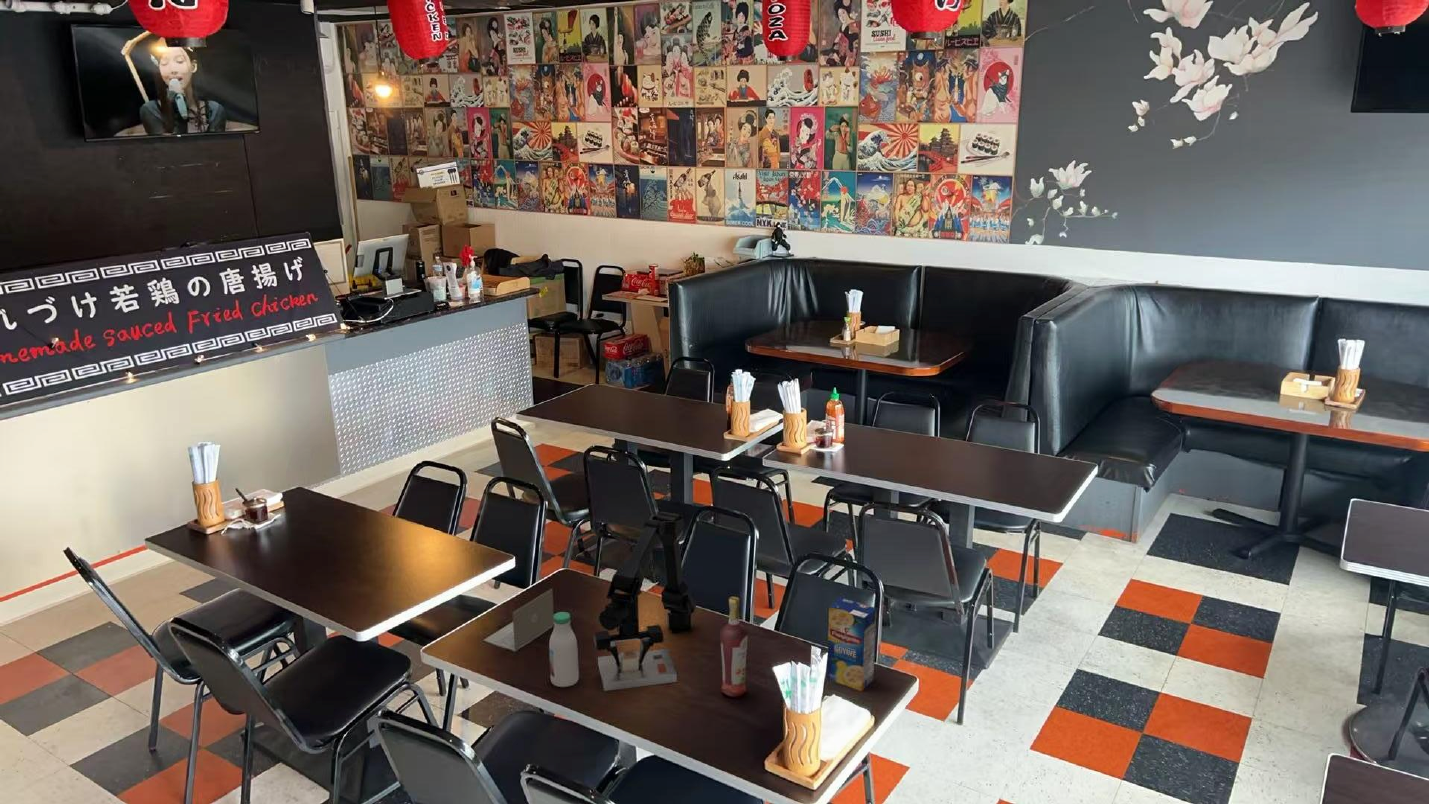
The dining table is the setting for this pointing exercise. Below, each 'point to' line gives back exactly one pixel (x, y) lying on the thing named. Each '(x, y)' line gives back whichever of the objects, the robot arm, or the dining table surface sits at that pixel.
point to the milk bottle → (563, 652)
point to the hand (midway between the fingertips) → (629, 664)
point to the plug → (629, 661)
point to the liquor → (733, 652)
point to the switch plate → (652, 671)
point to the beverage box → (851, 643)
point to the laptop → (526, 623)
